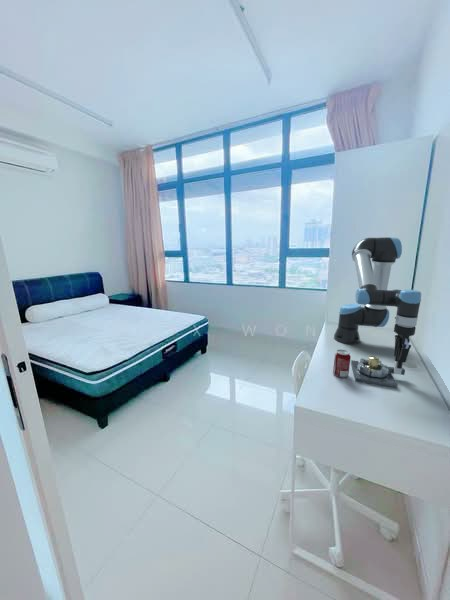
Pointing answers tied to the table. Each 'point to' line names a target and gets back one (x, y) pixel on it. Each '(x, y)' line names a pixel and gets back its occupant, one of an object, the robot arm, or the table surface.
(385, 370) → the octagonal ring panel
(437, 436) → the table surface
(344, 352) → the soda can
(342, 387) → the table surface
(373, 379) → the base plate
